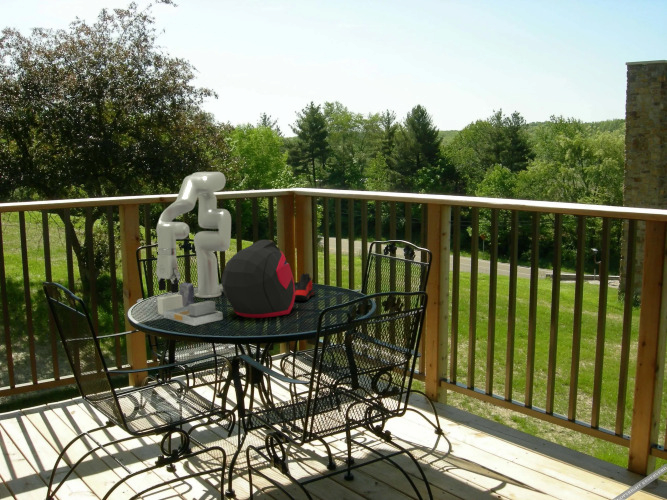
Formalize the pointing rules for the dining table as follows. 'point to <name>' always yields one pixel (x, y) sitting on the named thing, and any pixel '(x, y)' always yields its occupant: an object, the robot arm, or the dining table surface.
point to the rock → (187, 293)
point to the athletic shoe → (304, 288)
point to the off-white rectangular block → (169, 302)
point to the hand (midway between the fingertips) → (168, 291)
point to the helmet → (259, 281)
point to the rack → (194, 313)
